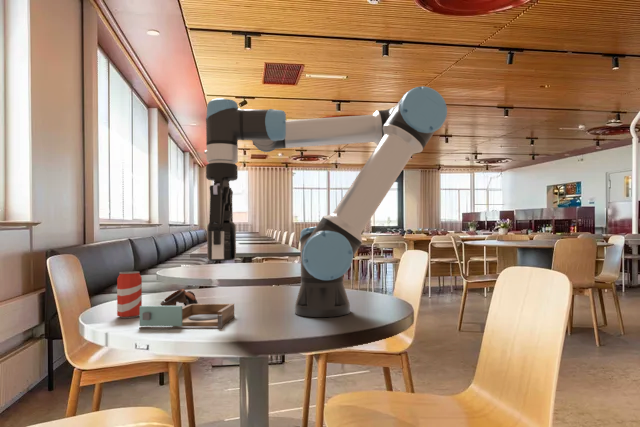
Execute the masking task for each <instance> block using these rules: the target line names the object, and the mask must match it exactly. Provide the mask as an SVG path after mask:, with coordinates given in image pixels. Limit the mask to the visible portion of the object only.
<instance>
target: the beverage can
mask: <svg viewBox="0 0 640 427" xmlns="http://www.w3.org/2000/svg"><path fill="white" fill-rule="evenodd" d="M142 280H143V277H142V275H141V274H140V271H119V275H118V276H117V280H116V284H117V285H116V293H117V294H116V315H117V317H119V318H120V319H134V318H138V317H140V306H143V305H142V304H143V303H142V302H143V300H142V299H143V298H142V297H143V294H142V293H143V289H142V288H143V287H142V284H143V282H142Z"/></svg>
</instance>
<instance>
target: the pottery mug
mask: <svg viewBox="0 0 640 427" xmlns="http://www.w3.org/2000/svg"><path fill="white" fill-rule="evenodd" d="M177 303H179V304H183V305H184V306H186V305H189V304H199V302H198V300H197V298H196V295H195V293H194V292H193V291H191V290H188V291H186V290H185V288H181V289H178V290H176V291H174V292H173V293H171V294H170V295H168V296H167V297H166V298H164V300H162V301H161V302H160V306H177Z"/></svg>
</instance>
